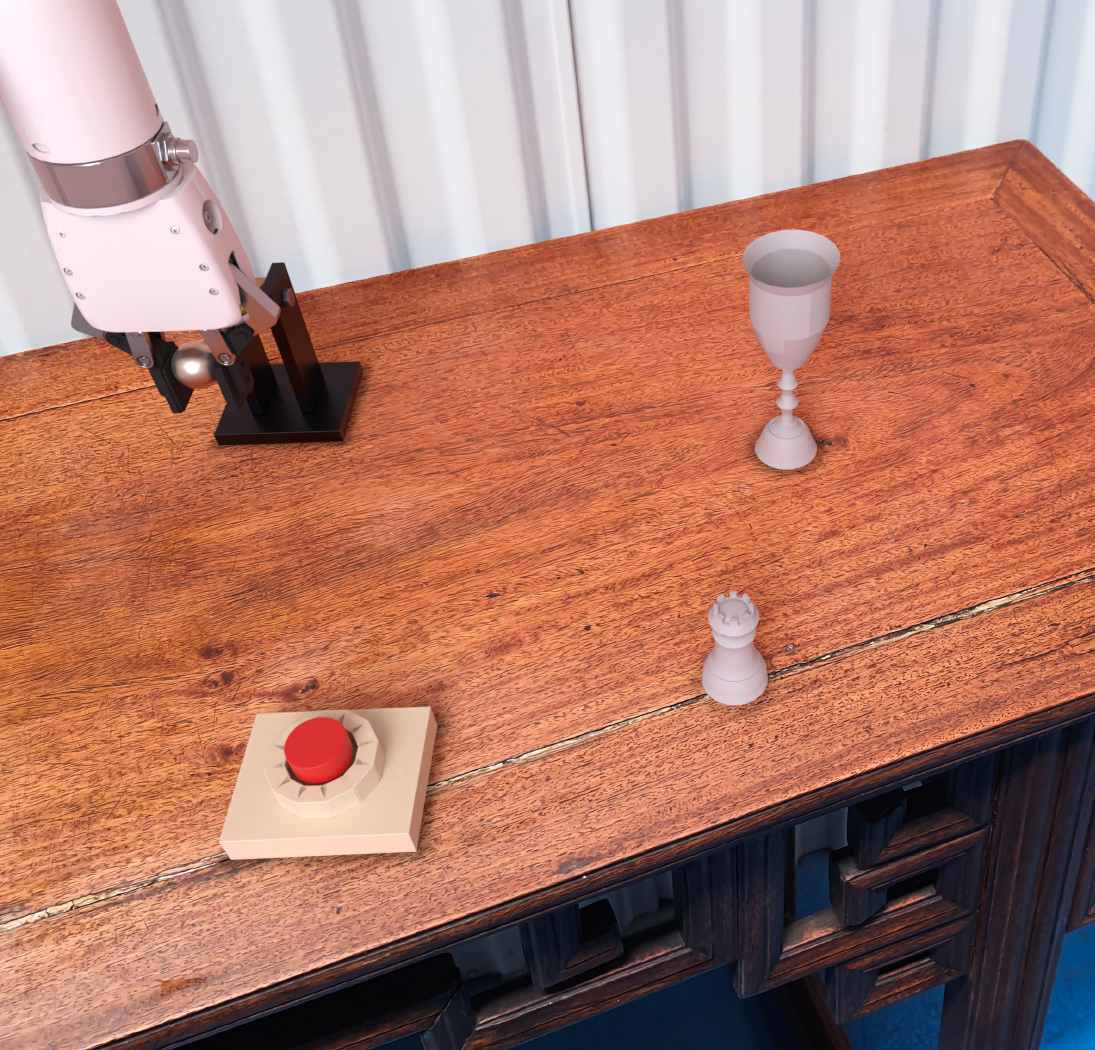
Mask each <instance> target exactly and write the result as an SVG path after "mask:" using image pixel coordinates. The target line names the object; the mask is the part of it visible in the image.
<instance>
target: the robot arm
mask: <svg viewBox="0 0 1095 1050" xmlns="http://www.w3.org/2000/svg"><path fill="white" fill-rule="evenodd" d="M0 102H1V104H2V107H3V108H4V110H5V112H6V114H7V116H8V118H9V121H10V122H11V124H12V126H13V128H14V130H15V132H16V134H17V137H18V138H19V141H20V143H21V145H22V146H23V149H24V151H25V152H26V155H27V156H28V159H29V160H30V163H31V164H32V167H33V168H34V171H35V173H36V174H37V177H38V178H39V180H40V183H41V184H42V186H41V187H40V190H39V192H38V197H39V202H40V203H39V204H40V207H41V208H40V209H41V213H42V217H43V221H44V226H45V229H46V233H47V236H48V239H49V242H50V246H51V248H52V252H53V254H54V257H55V260H56V262H57V265H58V268H59V270H60V273H61V275H62V277H63V280H64V282H65V285H66V287H67V288H68V292H69V293H70V295H71V297H72V299H73V301H74V302H73V308H72V314H71V320H70V326H71V328H72V329H73V330H74V331H77V332H78V333H82V334H84V335H87V336H90V337H93V338H96V339H99V340H103V339H104V340H105V341H106V342H107V343H108V344H109V345H111V346H112V347H115V348H117V349H118V350H120V351H121V352H124V353H126V354H127V355H129V356H131V357H133V361H134V364H136V365H137V366H138V367H139V368H142V369H146V370H148V372H149V374H150V376H151V379H152V380H153V383H154V384H155V387H156V389H157V391H158V393H159V394H160V396H161V397H164V398H165V400H166V402H167V404H168V407H169V409H170V411H171V413H172V414H173V415H175V414H183V413H184V412H185V411H186V410H187V407H188V406H189V403H190V401H191V398H192V396H193V394H194V391H195V389H192V388H189V387H186V386H185V385H183V384H181V383H180V382H179V381H178V380H177V379H176V377H175V376H174V374H173V372H172V368H171V361H172V357H173V355H174V353H175V352H176V350H177V349H178V348H180V346H179V345H178V344H177V345H176V343H175V341H174V340H166V334H165V332H182V331H183V332H185V331H198V332H199V334H200V335H201V337H202V338H203V341H204V340H205V342H206V343H207V345H208V347H209V348H210V350H211V352H212V353H213V355H214V357H215V359H216V360H215V363H214V365H213V368H212V370H213V373H214V376H215V378H216V380H217V382H216V384H217V385H218V387H219V389H220V391H221V394H222V396H223V399H224V401H225V404H226V403H227V406H228V408H229V409H230V410H232V411H233V412H234V411H241V410H242V408H243V406H244V403H245V400H246V398H247V395H248V394H249V393H251V392H252V390H253V387H254V379H253V375H252V373H251V370H250V368H249V365H248V363H247V360H246V358H245V355H244V353H243V351H242V350H243V349H244V348H245V347H246V346H247V344H248V343H249V342H250V341H251V339H252V337H254V336H255V335H257V334H259V335H260V334H262V333H263V332H265V331H267V330H269V329H271V327H272V326H274V325H275V324H276V323H277V320H278V318H279V315H280V312H281V309H280V307H279V306H278V305H277V304H276V303H275V302H274V301H273V300H272V299H270V298H269V297H268V296H267V295H266V294H265V293H264V292H263V291H262V290H261V289H260V288H259V287H258V286H256V280H255V278H256V277H255V274H254V270H253V268H252V265H251V263H250V261H249V258H248V256H247V254H246V251H245V248H244V246H243V245H242V243H241V241H240V238H239V236H238V234H237V232H236V230H235V228H234V226H233V224H232V222H231V220H230V218H229V216H228V214H227V213H226V210H225V208H224V207H223V205H222V203H221V202H220V200H219V198H218V197H217V195H216V193H215V191H214V190H213V188H212V187H211V185H210V184H209V182H208V181H207V179H206V178H205V176H204V175H203V174H202V172H201V170H200V169H199V168H198V166H197V165H196V163H198V160H199V150H198V146H197V144H196V142H195V141H194V140H193V139H181V138H180V137H175V135H174V134H173V132H172V129H171V127H170V124H169V122H168V121H164V118H163V115H162V113H161V110H160V108H159V105H158V102H157V100H156V97H155V95H154V93H153V90H152V88H151V86H150V82H149V80H148V78H147V76H146V73H145V70H144V67H143V66H142V63H141V60H140V58H139V55H138V52H137V50H136V46H135V44H134V42H133V40H132V37H131V35H130V32H129V30H128V26H127V24H126V21H125V19H124V17H123V14H122V12H121V9H120V6H119V4H118V1H117V0H0ZM239 306H241V307H242V308H243V309H244V310H246V311H247V312H248V313H244V314H242V315H241V310H240V307H239Z"/></svg>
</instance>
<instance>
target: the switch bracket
mask: <svg viewBox="0 0 1095 1050" xmlns="http://www.w3.org/2000/svg"><path fill="white" fill-rule="evenodd" d="M265 277H266V279H265V281H264V283H263V286H262V288H261V290H262V291H263V292H264V293H265V294H266V295H267V296H268V297H269V298H270V299H272V300H273V301H274V302H275V303H276V304H277V305H278V306H279V307H280V309H281V312H280V315H279V318H278V320H277V323H276V324H275V325H274V326H272V327H271V328H270V331H271V334H272V337H273V338H274V342H275V345H276V347H277V350H278V353H279V356H280V358H281V361H282V363H271V362H270V360H269V358H268V354H267V352H266V349H265V346H264V344H263V341H262V338H261V336H260V334H257V335H255V336H254V337H252V339H251V341H250V342H249V343H248V344H247V346H246V347H245V348H244V349H243V350H242V351H243V353H244V355H245V358H246V360H247V363H248V365H249V368H250V370H251V373H252V375H253V379H254V387H253V390H252V392H251V393H249V394H248V395H247V398H246V400H245V403H244V406H243V408H242V410H241V411H234V412H233V411H232V410H230V409H229V408H228V406H227V403H226V402H225V406H224V408H223V411H222V414H221V416H220V418H219V421H218V423H217V425H216V428H215V431H214V433H213V437H214V439H215V441H216V443H217V445H218V446H245V445H247V446H249V445H277V444H278V445H279V444H280V445H281V444H307V443H335V442H336V443H337V442H338V443H340V442H343V441H344V438H345V434H346V431H347V427H348V424H349V421H350V418H351V414H352V410H353V407H354V404H355V400H356V396H357V394H358V390H359V386H360V383H361V380H362V376H363V373H364V371H363V367H362V365H361V362H360V361H359V360H357V361H356V360H355V361H353V360H351V361H322V362H321V361H319V359H318V356H317V353H316V351H315V347H314V344H313V341H312V339H311V336H310V333H309V329H308V327H307V324H306V321H305V318H304V315H303V312H302V309H301V307H300V304H299V303H300V302H299V301H298V298H297V295H296V292H295V289H294V286H293V283H292V281H291V278H290V275H289V271H288V268H287V266H286V262H272V263H271V265H270V267H269V269H268V272H267V274H266V276H265Z"/></svg>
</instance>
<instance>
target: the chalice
mask: <svg viewBox="0 0 1095 1050" xmlns="http://www.w3.org/2000/svg"><path fill="white" fill-rule="evenodd" d="M741 262H742V263H741V264H742V266H743V268H744V269H745V271H746V274H747V275H748V278H749V322H750V324H751V326H752V329H753V331H754V334H755V336H756V339H757V341H758V343H759V346H760V347H761V348H762V350H763V352H764V353H765V355H766V356H767V358H768V360H769V361H770V363H771V364H772V366H773V367H775V368H776V369H778V370H781V371H782V372H781V376H780V379H779V380H777V386H778V388H779V389H780V391H781V394H780V396H778V397H777V398H776V400H775V404H776V406H777V407H778V408H779V409H780V413H781V414H780V415H777V416H775V417H773V418H772V419H771V420H769V421H768V422H767V423H766V424H765V426H764V427H763V430H762V431H761V433H760V435H759V437H757V440H756V442H755V443H754V444H755V445H754V453H755V454H756V456H757V459H758V460H760V461H761V462H762V463H763V464H764V465H766V466H769V467H770V468H773V469H778V470H784V471H785V470H796V469H800V468H803V467H804V466H807V465H808V464H810V463H811V462H812V461H813V460H814V459H815V458H816V455H817V453H818V445H817V442H816V441H815V439H814V437H813V434H812V432H811V431H810V428H809V426H808V425H807V423H806V422H805V421H804V420H802V419H801V418H799V417H797V416H795V415H794V414H793V412H794V410H795V408H797V406H798V405H799V399H798V397H796V396H795V394H794V391H795V389H796V388H797V387H798V385H799V381H798V380H797V378H796V376H795V370H798V369H800V368H802V367H803V366H804V365H805V364H806V363H807V361H808V359H810V357H811V355H812V353H814V350H815V349H816V347H817V346H818V344H819V342H820V341H821V338H822V336H823V334H824V332H825V329H826V327H827V325H828V323H829V321H830V318H831V306H832V290H833V289H832V285H833V276H834V274H835V273H836V271H837V269H838V267H839V265H840V263H841V252H840V250H839V248H838V247H837V245H836V244H835V243H834V242H833V241H831V239H829V238H828V237H826V236H825V235H822V234H819V233H817V232H814V231H810V230H805V229H804V230H802V229H781V230H776V231H771V232H768V233H766V234H764V235H762V236H759V237H757V238H755V239H754V240H753V241H751V242H750V244H748V245H747V246H746V248H745V249H744V251H743V253H742V260H741Z"/></svg>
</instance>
